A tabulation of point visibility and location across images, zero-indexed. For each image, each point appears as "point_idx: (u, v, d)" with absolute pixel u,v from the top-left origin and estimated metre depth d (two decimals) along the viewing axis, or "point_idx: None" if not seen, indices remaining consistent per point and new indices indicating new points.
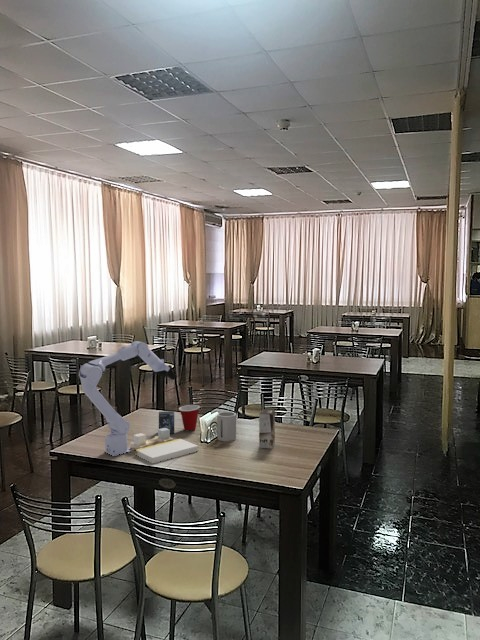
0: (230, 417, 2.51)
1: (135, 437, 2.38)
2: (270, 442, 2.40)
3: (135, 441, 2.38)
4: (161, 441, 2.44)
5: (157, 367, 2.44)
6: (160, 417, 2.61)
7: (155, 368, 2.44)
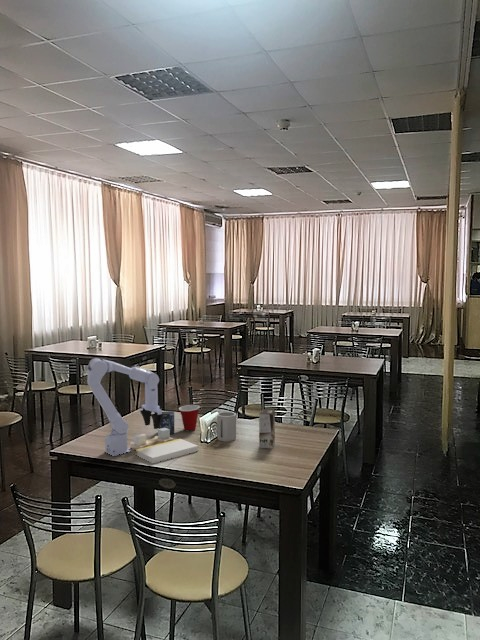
0: (230, 417, 2.51)
1: (135, 437, 2.38)
2: (270, 442, 2.40)
3: (135, 441, 2.38)
4: (161, 441, 2.44)
5: (151, 406, 2.39)
6: None
7: (149, 406, 2.39)
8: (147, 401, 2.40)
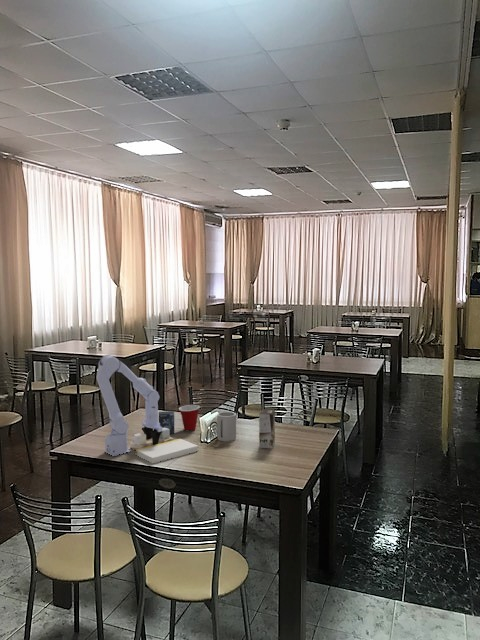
0: (230, 417, 2.51)
1: (135, 437, 2.38)
2: (270, 442, 2.40)
3: (135, 441, 2.38)
4: (161, 441, 2.44)
5: (151, 423, 2.40)
6: (160, 417, 2.61)
7: (149, 423, 2.40)
8: (147, 418, 2.40)
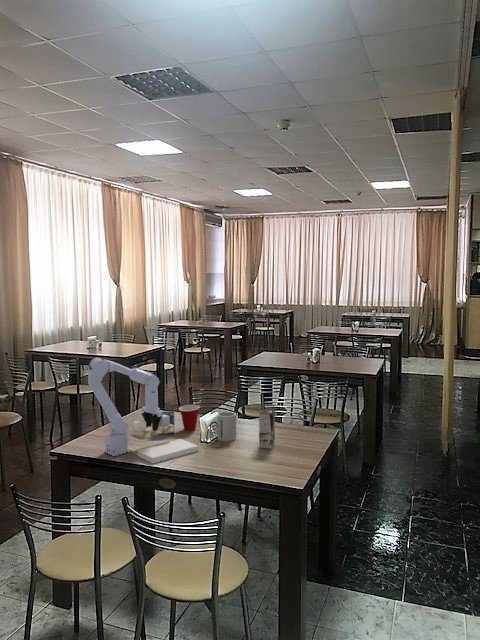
0: (230, 417, 2.51)
1: (135, 424, 2.37)
2: (270, 442, 2.40)
3: (135, 428, 2.38)
4: (161, 428, 2.43)
5: (151, 408, 2.39)
6: None
7: (149, 408, 2.39)
8: (147, 403, 2.40)
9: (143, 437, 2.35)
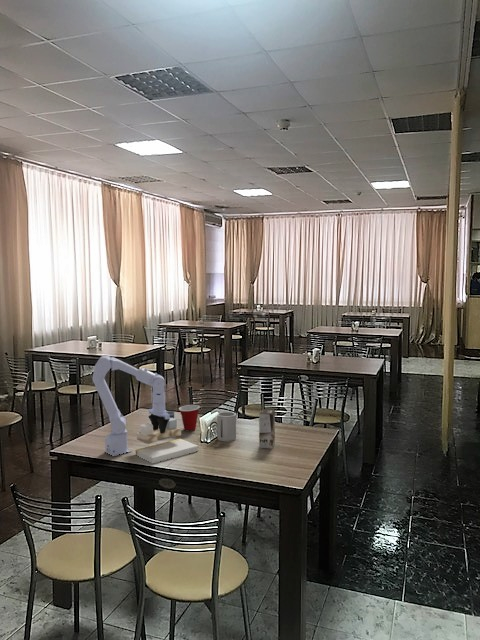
0: (230, 417, 2.51)
1: (142, 427, 2.33)
2: (270, 442, 2.40)
3: (142, 431, 2.33)
4: (168, 431, 2.39)
5: (159, 411, 2.35)
6: (160, 417, 2.61)
7: (156, 410, 2.35)
8: (154, 405, 2.35)
9: (150, 441, 2.30)
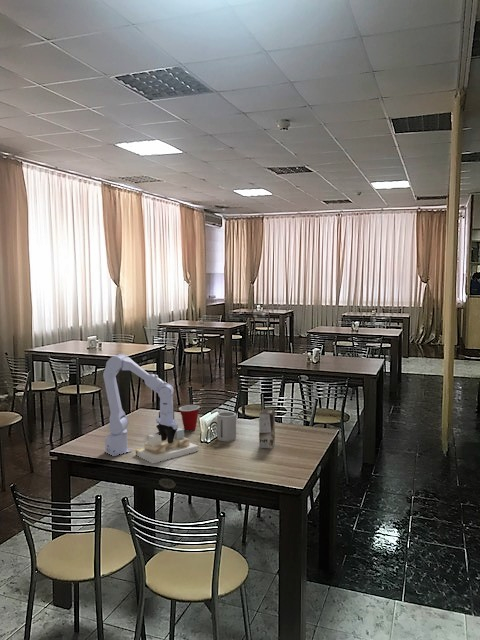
0: (230, 417, 2.51)
1: (150, 438, 2.28)
2: (270, 442, 2.40)
3: (150, 442, 2.29)
4: (176, 442, 2.35)
5: (167, 420, 2.30)
6: None
7: (164, 420, 2.30)
8: (162, 415, 2.31)
9: (158, 452, 2.26)
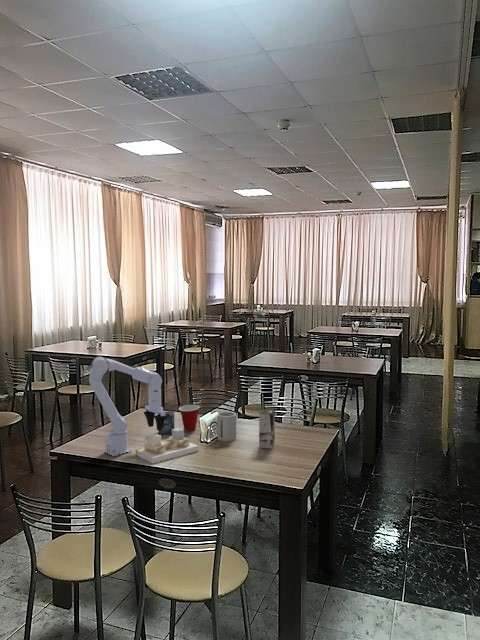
0: (230, 417, 2.51)
1: (150, 438, 2.28)
2: (270, 442, 2.40)
3: (150, 442, 2.29)
4: (176, 442, 2.35)
5: (154, 407, 2.37)
6: None
7: (152, 407, 2.37)
8: (150, 402, 2.37)
9: (158, 452, 2.26)
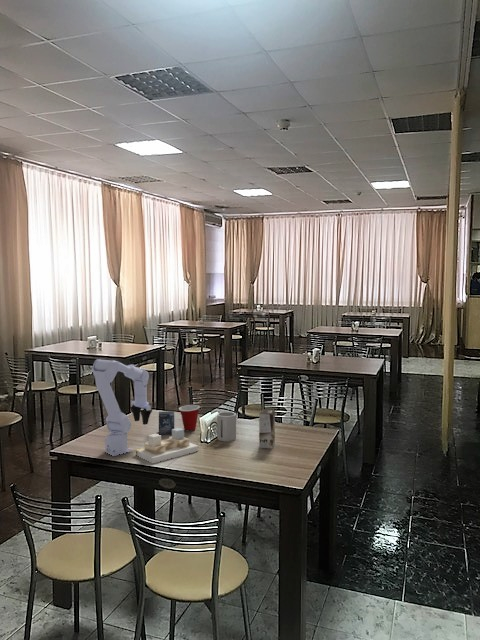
0: (230, 417, 2.51)
1: (150, 438, 2.28)
2: (270, 442, 2.40)
3: (150, 442, 2.29)
4: (176, 442, 2.35)
5: (140, 402, 2.46)
6: (160, 417, 2.61)
7: (138, 402, 2.46)
8: (136, 397, 2.47)
9: (158, 452, 2.26)
